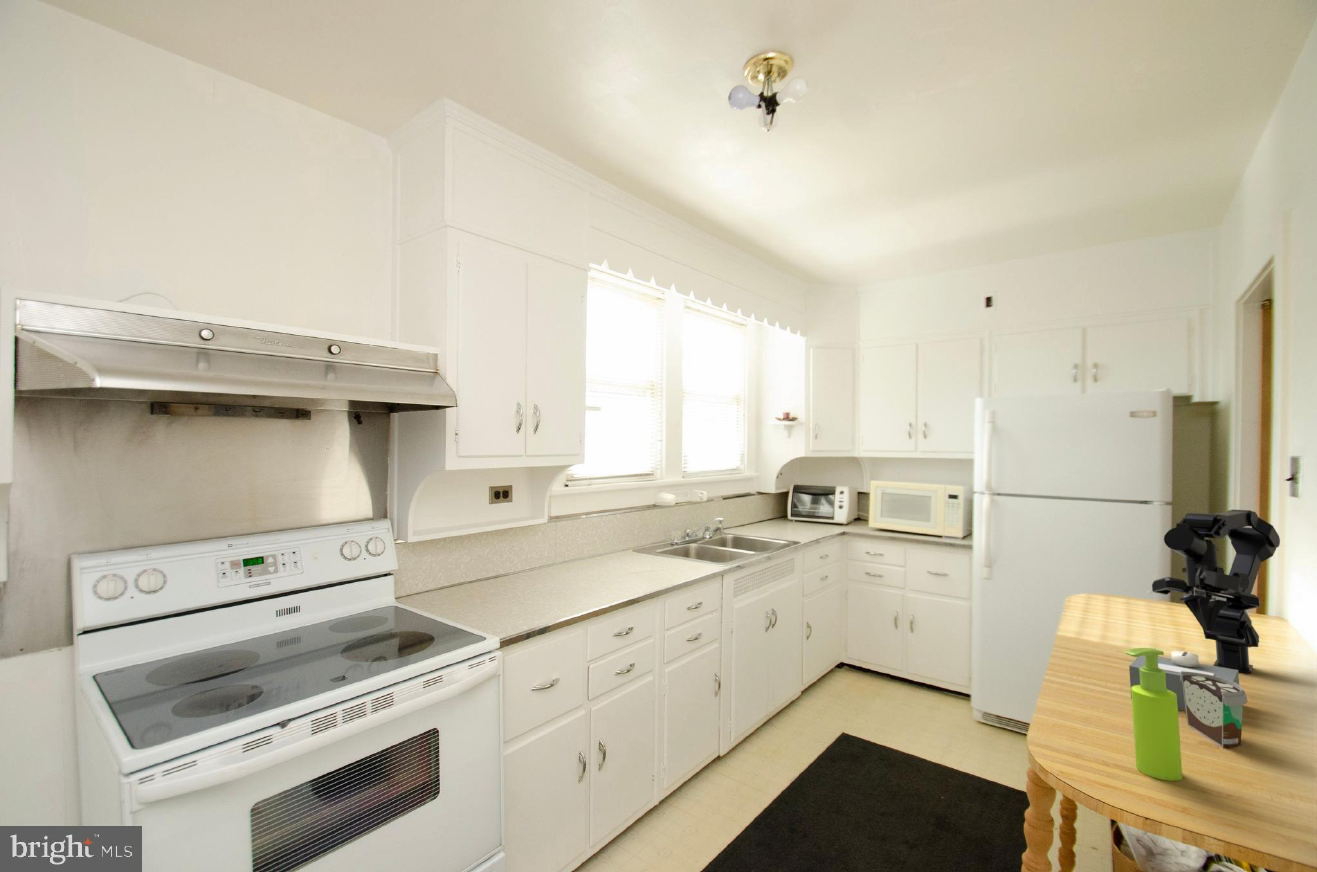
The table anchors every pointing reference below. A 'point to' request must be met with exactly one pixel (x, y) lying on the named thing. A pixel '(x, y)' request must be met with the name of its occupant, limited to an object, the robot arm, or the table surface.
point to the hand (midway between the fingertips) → (1207, 631)
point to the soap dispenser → (1155, 720)
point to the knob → (1185, 659)
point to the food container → (1214, 707)
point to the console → (1174, 675)
